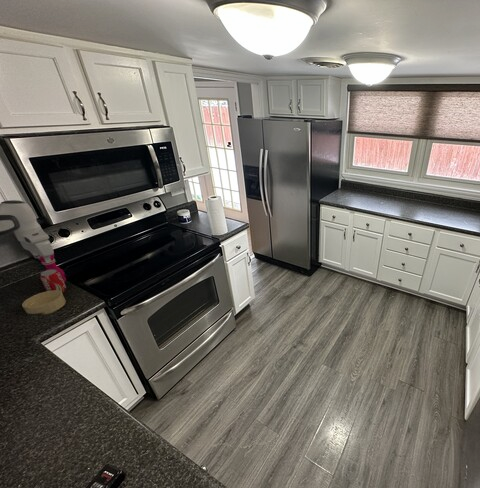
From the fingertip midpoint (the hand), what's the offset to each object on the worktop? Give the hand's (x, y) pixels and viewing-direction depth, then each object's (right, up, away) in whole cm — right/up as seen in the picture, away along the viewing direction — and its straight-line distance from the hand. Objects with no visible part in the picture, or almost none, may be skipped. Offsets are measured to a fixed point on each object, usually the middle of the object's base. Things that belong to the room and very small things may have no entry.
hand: (43, 260), depth 128 cm
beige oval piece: (+6, -23, -3) cm, 24 cm away
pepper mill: (-9, -13, +16) cm, 22 cm away
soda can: (-1, -17, +8) cm, 19 cm away
